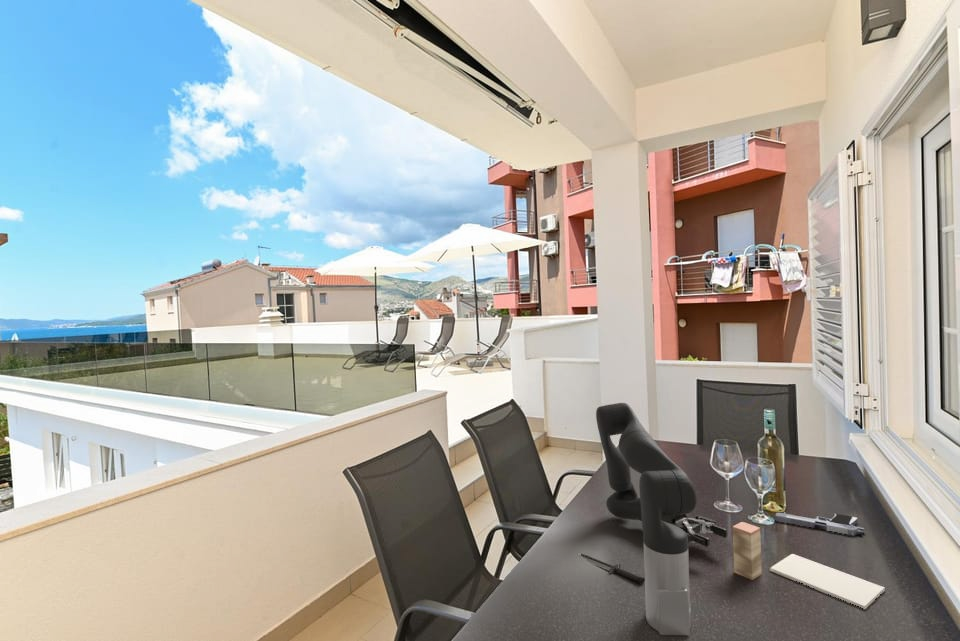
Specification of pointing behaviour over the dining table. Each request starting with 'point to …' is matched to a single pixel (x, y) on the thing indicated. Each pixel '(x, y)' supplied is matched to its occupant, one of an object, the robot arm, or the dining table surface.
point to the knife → (614, 569)
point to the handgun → (825, 523)
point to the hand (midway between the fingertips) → (717, 538)
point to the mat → (828, 580)
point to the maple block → (747, 550)
